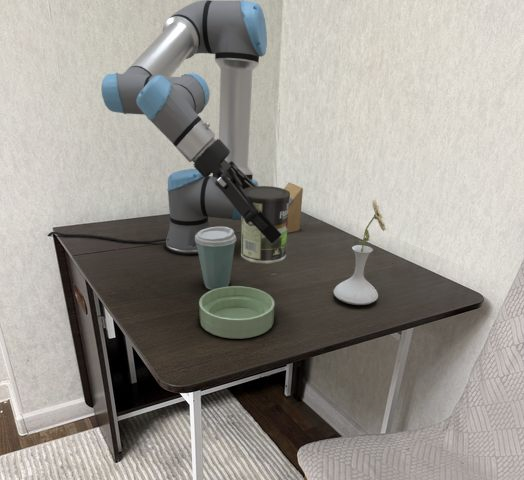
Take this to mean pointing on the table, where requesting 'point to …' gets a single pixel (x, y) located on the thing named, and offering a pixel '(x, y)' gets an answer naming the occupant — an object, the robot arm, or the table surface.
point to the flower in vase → (360, 272)
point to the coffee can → (276, 211)
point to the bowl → (236, 312)
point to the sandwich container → (294, 207)
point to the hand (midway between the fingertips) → (277, 230)
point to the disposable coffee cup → (216, 255)
